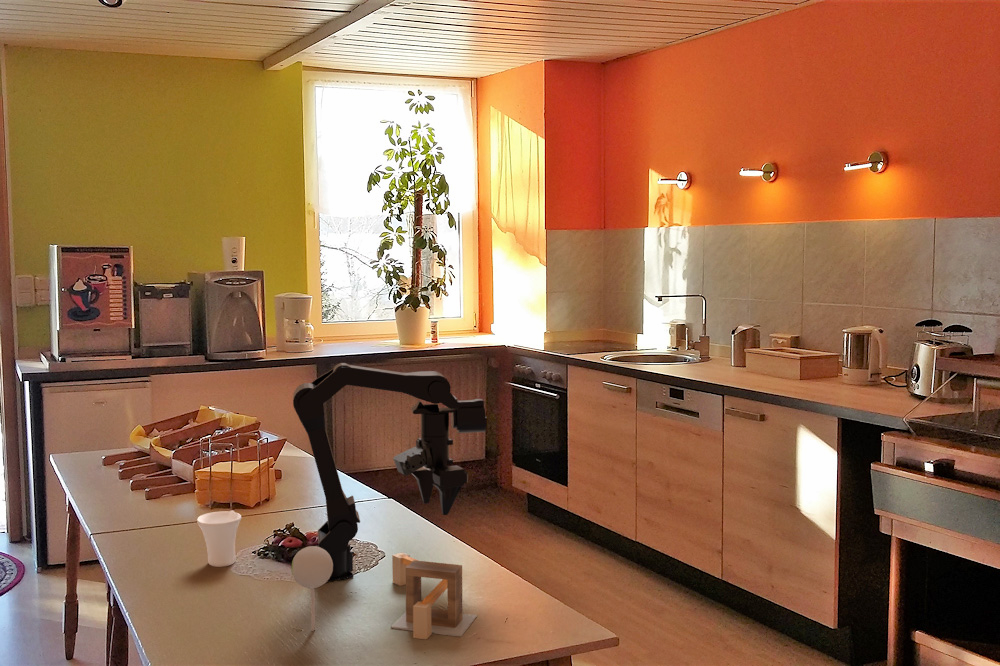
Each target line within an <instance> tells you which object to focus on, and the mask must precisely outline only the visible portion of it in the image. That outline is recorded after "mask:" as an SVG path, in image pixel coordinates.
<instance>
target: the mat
mask: <svg viewBox="0 0 1000 666" xmlns="http://www.w3.org/2000/svg"><path fill="white" fill-rule="evenodd" d="M476 619H477V614H468V613H462V620H461V622H460V623H459V624H458V625H457V627H456V628H451V627H443V626H434V625H431V634H435V635H444V636H451V637H460V638H461V637H463V635H464V634H465V633H466V631H467V630H468V628H469V627H470V626H471V625H472V624H473V622H474V621H475V620H476ZM390 629H395V630H403V631H412V632H413V623H410V622H406V611H405V612H404V613H402V615H400V617H399V618H398V619H397V620H396V621H395V622H394V623H393V624H392V625H391V626H390Z"/></svg>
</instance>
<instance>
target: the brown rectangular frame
mask: <svg viewBox="0 0 1000 666" xmlns="http://www.w3.org/2000/svg"><path fill="white" fill-rule="evenodd" d="M416 560H417V559H416ZM416 560H414V561H412V562H411V563H410V564H409V565H408V566H407V567H406V584H405V612H406V622H410V623H413V606H414V605H415V604H416V603H417V602H418V601H420V602H422V578H426V579H427V578H428V579H437V580H443V579H444V580H447V589H446V593H447V596H446V597H447V609H442V608H436V607H435V608H433V607H431V625H434V626H443V627H451V628H456V627H457V625H458V624H459V623H460V622H461V620H462V614H463V565H462V564H454V563H444V562H433V561H425V560H419V561H416Z"/></svg>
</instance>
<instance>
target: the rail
mask: <svg viewBox="0 0 1000 666" xmlns="http://www.w3.org/2000/svg"><path fill="white" fill-rule="evenodd" d="M410 556H411V555H410V554H407V553H404V552H398V553H396V554H395V553H394V554H392V557H391V558H392V583H393V584H395V585H397V586H400V587H401V586H404V585H406V567H407V566H408V565H409V564H410V563H411V562H412V561H414V560H416V561H420V560H418V559H417V558H416V559H415V558H413V557H410ZM445 591H447V580H444V579H441V581H440V582H439V583H438V584H437V585H436V586H435V587H434V588H433V589H432V590H431V591H430V592H429V593H428V595H426V597H424V598H423V599H422V600H421V602H420V601H418V602H417V603H416V604H415V605H414V606H413V631H412V633H413V634H412V635H413V639H418V640H420V639H421V640H428V639H429V638H430V636H431V635H432V633H431V608H432V606H433V604H435V602H436V601H437V600H438V599H439V598H440V596H442V595H443V594H444V592H445Z"/></svg>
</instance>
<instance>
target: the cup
mask: <svg viewBox="0 0 1000 666" xmlns="http://www.w3.org/2000/svg"><path fill="white" fill-rule="evenodd" d="M241 520H242V515H241V514H240V513H238V512H235V511H234V510H233V509H231V510H229V511H227V510H226V511H225V510H223V511H222V510H221V511H213V512H207V513H204V514H200V516H198V517H197V521H196V522H197V525H198V526H199V528H200V530H201V532H202V535H203V539H204V540H205V545H206V551H207V562H208V564H209V565H210V566H211V567H218V568H219V567H220V568H221V567H227V566H231V565H233V564H234V563H235V562H236V536H237V532H238V528H239V524H240V522H241Z"/></svg>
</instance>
